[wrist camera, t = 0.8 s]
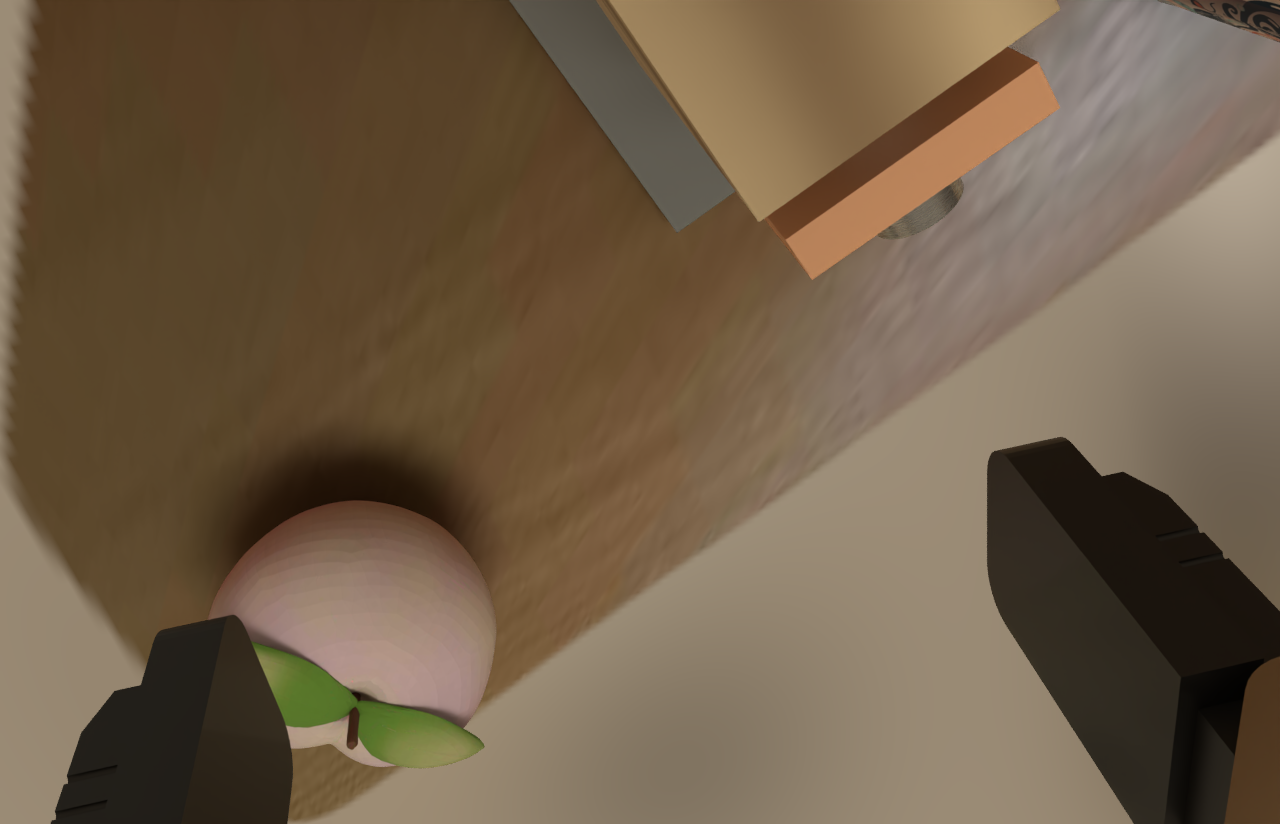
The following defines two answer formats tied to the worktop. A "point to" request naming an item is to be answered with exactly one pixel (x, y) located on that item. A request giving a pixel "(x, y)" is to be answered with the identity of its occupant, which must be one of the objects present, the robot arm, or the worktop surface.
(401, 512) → the decorative fruit
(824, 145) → the bearing block
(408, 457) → the worktop surface
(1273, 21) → the beer can
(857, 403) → the worktop surface
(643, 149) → the base plate
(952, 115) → the spacer
